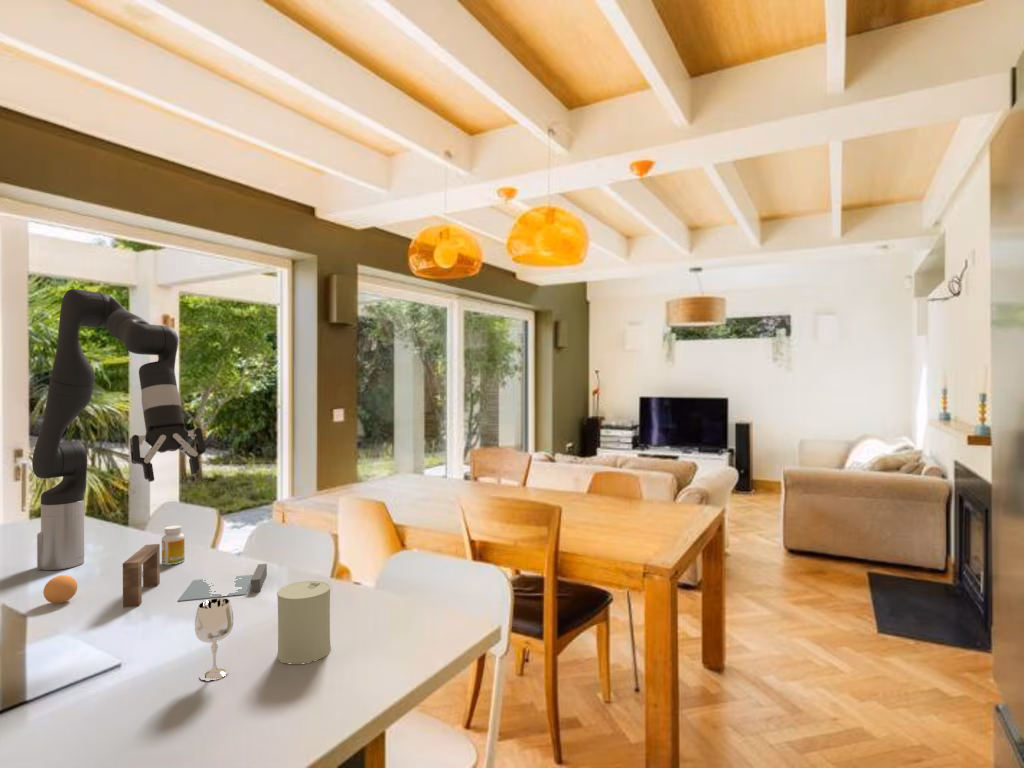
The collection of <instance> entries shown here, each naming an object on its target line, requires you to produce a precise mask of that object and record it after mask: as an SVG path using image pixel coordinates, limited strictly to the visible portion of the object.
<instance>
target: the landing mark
mask: <svg viewBox="0 0 1024 768" xmlns="http://www.w3.org/2000/svg"><path fill="white" fill-rule="evenodd" d="M235 576H236V578H235V579H238V580H236V581H234V582H235V583H236V584H235V587H242V589H238V590H236V591H238V592H235V593H229V594H228V595H227V596H228V597H234V596H233V595H239V596H246V595H247V593H248V591H247V590H249V588H250V587H251V579H252V576H253V574H245V575H235ZM239 578H242V579H239ZM204 581H206V580H204ZM211 584H212V583H211ZM208 585H209V584H207V583H206V582H203V578H201V579H193V580H192V581H191V582H190V583H189V585H188V587H186V589H185V591H184V592H183V593H182V594H181V596H180V597H179V598H178V600H177V602H187V601H196V600H205V599H204V598H208V599H214V598H213V597H218V598H222V597H221V596H222V595H221V594H211V593H209V592H212V591H209V590H211V589H210V587H211V586H208ZM212 586H214V585H212ZM214 592H216V591H214ZM246 592H247V593H246ZM210 595H212V596H210Z"/></svg>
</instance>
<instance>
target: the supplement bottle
mask: <svg viewBox="0 0 1024 768" xmlns="http://www.w3.org/2000/svg"><path fill="white" fill-rule="evenodd" d="M182 529H183V528H182V525H170V526H166V527H164V534H165V535H163V536H162V537H161V564H162V565H163V564H165V565H164V566H172V565H171V564H175V565H178V563H179V564H182V563H183V562H184V561H185V560H186V559H185V556H186V555H185V552H186V551H185V549H186V547H185V543H186V542H185V535H184V534H183V533H182ZM181 562H182V563H181Z"/></svg>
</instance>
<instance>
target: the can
mask: <svg viewBox="0 0 1024 768" xmlns="http://www.w3.org/2000/svg"><path fill="white" fill-rule="evenodd" d="M276 596H277V640H278V641H277V655H276V659H277V660H278V659H279V660H280V661H282V662H285V663H291V664H301V665H303V664H302V663H307V664H309V663H308V662H311V663H313V662H312V661H315V660H317V661H319V659H320V660H321V658H322V659H324V658H325V657H327V654H330V652H331V650H332V645H331V585H330V584H329V583H328V582H325V581H320V580H304V581H299V582H294V583H290V584H288V585H284V586H283V587H281V588H280V589H279V590H277V594H276ZM279 660H278V661H279ZM280 661H279V662H280ZM282 662H281V663H282ZM315 662H316V661H315Z"/></svg>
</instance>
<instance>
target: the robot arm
mask: <svg viewBox="0 0 1024 768" xmlns="http://www.w3.org/2000/svg"><path fill="white" fill-rule="evenodd" d="M62 297H63V298H62V300H61V305H60V311H59V322H58V335H57V345H56V351H55V355H54V360H53V365H52V370H51V375H50V379H49V384H48V389H47V397H46V403H45V409H44V414H43V419H42V423H41V426H40V429H39V433H38V437H37V440H36V443H35V447H34V450H33V455H32V459H31V463H32V464H31V468H32V471H33V474H34V475H35V477H36V478H39V479H52V478H54V479H55V478H62V480H61V481H60V482H59V483H58V484H56V485H55V486H53V487H51V488H50V489H47V490H45V491H43V492H42V493H41V495H40V532H38V533H37V535H36V570H37V571H39V570H43V571H58V570H65V569H70V568H74V567H77V566H80V565H82V564H84V563H85V494H86V493H85V492H86V488H87V474H88V452H87V449H86V448H87V447H86V446H85V445H84V444H83V443H82V442H80V441H65V442H63V441H61V440H62V439H63V435H64V433H65V431H66V430H67V428H68V427H69V425H70V424H71V423H72V422H73V421H74V420H75V419H76V418H77V417H78V416H79V415H80V414H81V413H82V412H83V411H84V409H86V407H87V406H88V405H89V403H90V401H91V399H92V396H93V391H94V386H95V380H96V375H95V371H94V370H93V367H92V365H91V364H90V361H89V360H88V358H87V356H86V355H85V353H84V351H83V349H82V347H81V344H80V338H79V337H80V336H79V332H80V331H79V330H80V327H87V328H98V329H99V328H106V329H107V331H108V332H109V334H110V335H111V336H112V337H114V338H116V339H117V340H119V341H121V342H122V343H123V345H124V347H125V349H126V351H128V352H130V353H132V354H136V355H143V356H144V355H147V356H157V357H158V360H157V361H152V362H147V363H144V364H142V365H141V366H140V367H139V369H138V379H139V383H140V391H141V405H142V413H143V419H144V426H145V431H146V432H145V435H137V434H134V435H132V436H131V438H129V446H130V461H131V464H132V465H136V464H137V465H141V466H142V470H143V475H144V476H143V477H144V479H145V480H147V481H148V482H149V483H151V482H154V481H155V476H154V474H155V473H154V467H153V463H151V461H152V459H153V458H154V456H155V455H156V454H157V453H159V454H161V453H167V452H176V451H178V450H179V451H180V452H181V453H183V454H185V455H186V456H187V457H188V458H189V459H188V462H189V463H188V464H189V469H190V474H191V476H193V475H197V474H198V471H200V463H199V456H200V455H203V454H204V453H205V452H206V451H207V449H206V446H205V442H204V437H203V432H202V429H201V428H200V427H196V428H195V429H191V430H188V429H186V427H185V421H184V415H183V413H184V412H183V407H182V400H181V395H180V392H179V389H178V385H177V380H176V379H177V378H176V373H175V371H176V370H175V369H176V368H175V367H176V360H177V359H176V358H177V352H178V346H179V337H178V334H177V333H176V331H175V329H174V328H173V327H171V326H168V325H160V324H159V325H157V324H151V323H150V322H148V321H147V320H146V319H144V318H142V317H140V316H138V315H136V314H134V313H132V312H131V311H129V310H127V309H126V308H125V307H124V306H123V305H122V304H121V303H120V302H119V301H118V300H116V299H115V298H114V297H113V296H111V295H110V294H106V293H104V292H97V291H91V290H83V289H78V288H77V289H76V288H71V289H67V291H66V292H65V293H64V295H63V296H62ZM188 437H190V438H191V440H193V441H194V444H195V445H194V446H195V449H194V448H193V447H192V446H191V444H190V443H189V442H187V441H186V440H187V438H188ZM144 441H145V443H146V444H147V445H149V446H150V448H149V450H148V452H146V455H145V456H144V457H142V456H141V449H140V448H141V447H140V446H142V445H143V442H144Z"/></svg>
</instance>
